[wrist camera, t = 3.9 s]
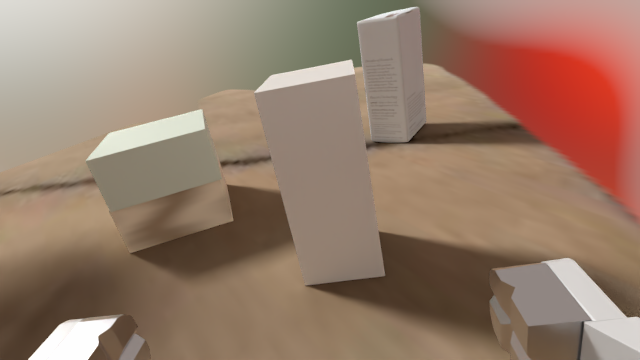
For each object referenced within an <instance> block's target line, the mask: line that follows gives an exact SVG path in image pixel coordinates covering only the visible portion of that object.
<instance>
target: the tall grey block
mask: <svg viewBox="0 0 640 360" xmlns="http://www.w3.org/2000/svg"><path fill="white" fill-rule="evenodd" d="M254 95H255V99H256V102H257V106H258V110H259V114H260V117H261V121H262V125H263V129H264V132H265V136H266V140H267V144H268V147H269V151H270V155H271V159H272V162H273V166H274V170H275V174H276V177H277V181H278V185H279V189H280V192H281V196H282V200H283V204H284V207H285V211H286V215H287V219H288V222H289V226H290V230H291V234H292V238H293V241H294V245H295V249H296V253H297V256H298V260H299V264H300V268H301V271H302V275H303V279H304V283H305V286H306V285H315V284H323V283H331V282H340V281H348V280H356V279H365V278H373V277H381V276H385V271H384V264H383V257H382V251H381V244H380V238H379V231H378V224H377V218H376V211H375V204H374V198H373V191H372V184H371V178H370V171H369V165H368V158H367V151H366V145H365V138H364V131H363V125H362V118H361V111H360V105H359V98H358V92H357V85H356V78H355V72H354V68H353V63H352V60H348V61H342V62H337V63H332V64H327V65H323V66H317V67H312V68H306V69H301V70H296V71H291V72H286V73H281V74H275V75H271V76H270V77H269V78H268V79H267V80H266V81H265V82H264V83H263V84H262V85H261V86H260V87H259V88H258V89H257V90H256V91H255V93H254Z"/></svg>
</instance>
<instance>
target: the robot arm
mask: <svg viewBox="0 0 640 360" xmlns="http://www.w3.org/2000/svg"><path fill="white" fill-rule="evenodd" d="M489 285H490V287H491V289H492V291H493V293H494V296H493V297H492V299H491V300H490V301H489V302H490V315H491V320H492V325H493V329H494V331H495V334H496V337H497V339H498V342H499V344H500V346H501V348H502V349H504V350H505V351H507V352H508V353H510V360H640V318H638V317H628V318H627V316H626V315H625V314H624V313H623V312H622V311H621V310H620V309H619V308H618V307H617V306H616V305H615V304H614V303H613V302H612V300H611V299H610V298H609V297H608V296H607V295H606V294H605V293H604V292H603V291H602V290H601V289H600V288H599V287H598V286H597V285H596V283H595V282H594V281H593V280H592V279H591V278H590V277H589V276H588V275H587V274H586V273H585V272H584V271H583V270H582V269H581V267H580V266H579V265H578V264H577V263H576V262H575V261H574V260H572V259H570V258H564V259H557V260H550V261H544V262H541V263H533V264H525V265H517V266H510V267H502V268H494V269H490V273H489ZM137 327H138V326H137V324H136V322H135V321H134V319H133V317H132V316H130V315H125V314H122V315H111V316H101V317H91V318H86V319H75V320H68V321H66V322H64V323H61V324H60V325H59V326H58V327H57V328H56V329H55V330H54V331H53V333H52V334H51V335H50V336H49V337H48V338H47V339H46V340H45V341H44V343H43V344H42V345H41V346H40V347H39V348H38V349H37V350H36V351H35V353H34V354H33V355H32V356H31V357H30V358H29V359H28V360H151V355H150V349H149V346H148V344H147V342H146V340H145V339H143V338H141V337H140V336H138V335H137V334H136V331H137Z"/></svg>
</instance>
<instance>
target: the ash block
mask: <svg viewBox="0 0 640 360" xmlns="http://www.w3.org/2000/svg"><path fill="white" fill-rule="evenodd" d="M216 154H217V153H216ZM217 158H218V156H217ZM218 163H219V168H220V173H221V177H222V179H221V180H217V181H214V182H211V183H207V184H204V185H201V186H197V187H194V188H190V189H187V190H184V191H180V192H177V193H174V194H170V195H167V196H164V197H160V198H157V199H154V200H150V201H147V202H144V203H140V204H137V205H134V206H130V207H127V208H124V209H120V210H117V211H114V212H110V210H109V212H110V214H111V216H112V219H113V221H114V223H115V225H116V227H117V229H118V231H119V233H120V235H121V237H122V239H123V241H124V243H125V245H126V247H127V249H128V251H129V253H132V252H136V251H139V250H142V249H145V248H148V247H151V246H155V245H158V244H161V243H164V242H167V241H171V240H174V239H177V238H180V237H183V236H186V235H190V234H193V233H196V232H199V231H202V230H206V229H209V228H212V227H215V226H218V225H221V224H225V223H228V222H231V221H234V220H233V215H232V210H231V204H230V199H229V193H228V188H227V183H226V180H225V177H224V174H223V171H222V168H221V165H220V162H219V159H218Z"/></svg>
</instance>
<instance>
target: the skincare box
mask: <svg viewBox="0 0 640 360" xmlns="http://www.w3.org/2000/svg"><path fill="white" fill-rule="evenodd" d="M357 26H358V33H359V42H360V51H361V59H362V67H363V75H364V83H365V92H366V99H367V107H368V115H369V123H370V131H371V139H372V141H375V142H389V143H401V142H408V141H409V140H410V139H411V138H412V137H413V136H414V135H415V134H416V133H417V131H418V130H419V129H420V128H421V127H422V126H423V125H424V124H425V123H426V107H425V90H424V74H423V59H422V42H421V24H420V10H419V7H413V8H407V9H402V10H397V11H392V12H388V13H384V14H380V15H377V16H374V17H371V18H368V19H365V20H362V21H359V22H358V23H357Z"/></svg>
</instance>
